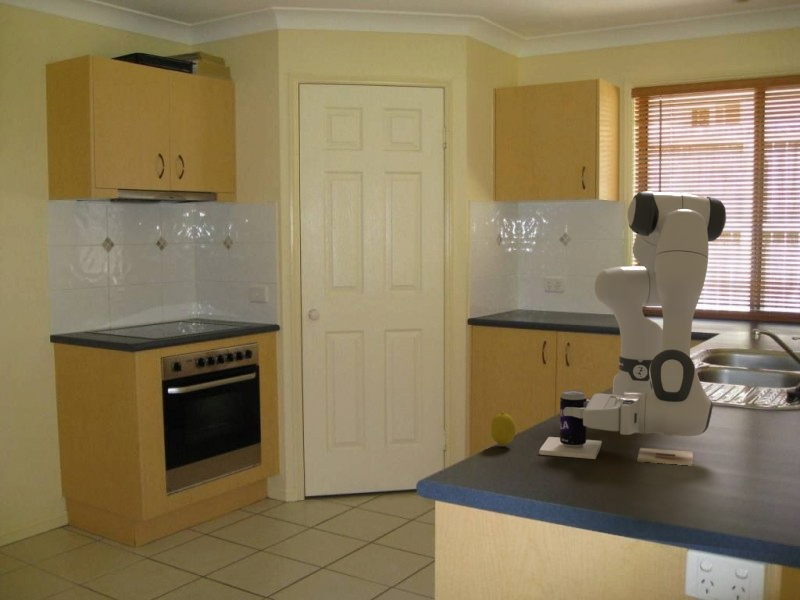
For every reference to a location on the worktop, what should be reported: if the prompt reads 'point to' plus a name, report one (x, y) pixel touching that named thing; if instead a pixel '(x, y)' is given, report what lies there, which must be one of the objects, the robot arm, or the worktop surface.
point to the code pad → (665, 456)
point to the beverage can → (572, 420)
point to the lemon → (503, 428)
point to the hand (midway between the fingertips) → (567, 407)
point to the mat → (570, 449)
